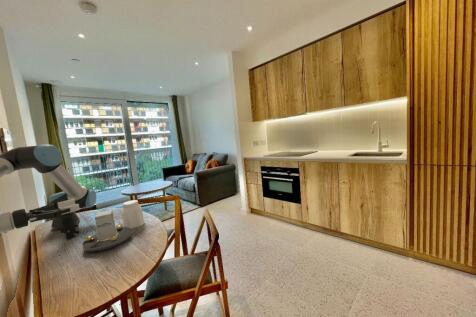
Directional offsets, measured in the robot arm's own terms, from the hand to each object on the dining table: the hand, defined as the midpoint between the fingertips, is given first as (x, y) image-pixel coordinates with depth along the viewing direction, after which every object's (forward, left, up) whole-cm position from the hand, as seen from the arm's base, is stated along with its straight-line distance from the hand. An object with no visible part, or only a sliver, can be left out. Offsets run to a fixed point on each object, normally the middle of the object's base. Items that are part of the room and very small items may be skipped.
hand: (76, 204), depth 101 cm
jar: (-23, +19, -25) cm, 38 cm away
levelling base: (-5, +9, -25) cm, 26 cm away
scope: (-26, -15, -25) cm, 39 cm away
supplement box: (-5, +9, -21) cm, 23 cm away
